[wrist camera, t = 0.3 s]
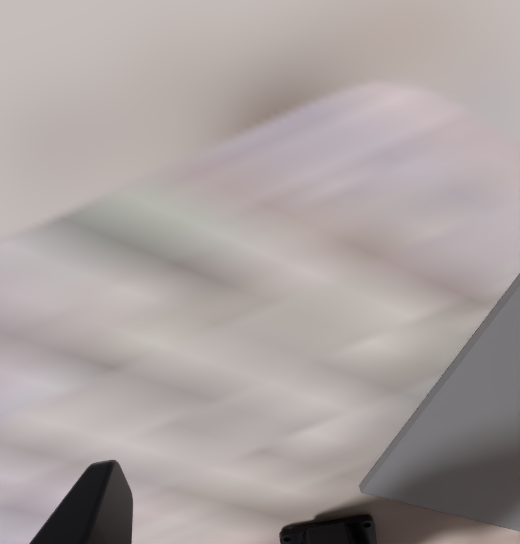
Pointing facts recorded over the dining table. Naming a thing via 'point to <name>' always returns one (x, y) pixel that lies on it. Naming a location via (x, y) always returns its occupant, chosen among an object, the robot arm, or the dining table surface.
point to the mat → (465, 431)
